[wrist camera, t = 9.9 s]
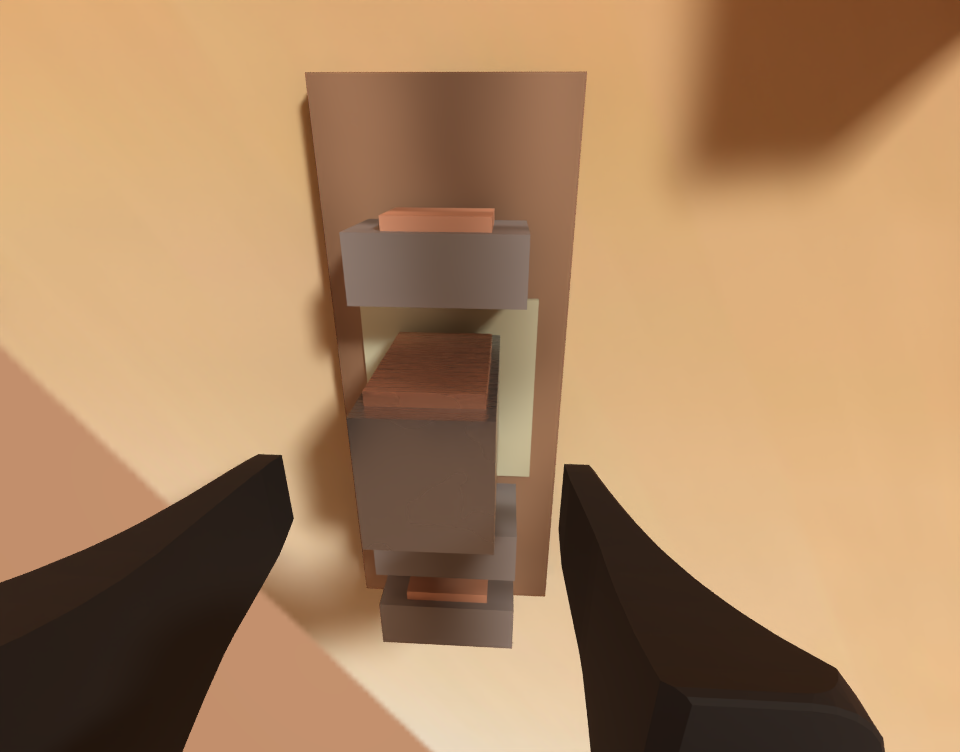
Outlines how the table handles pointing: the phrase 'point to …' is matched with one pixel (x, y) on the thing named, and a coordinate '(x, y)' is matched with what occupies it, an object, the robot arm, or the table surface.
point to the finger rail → (460, 173)
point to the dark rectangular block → (429, 445)
